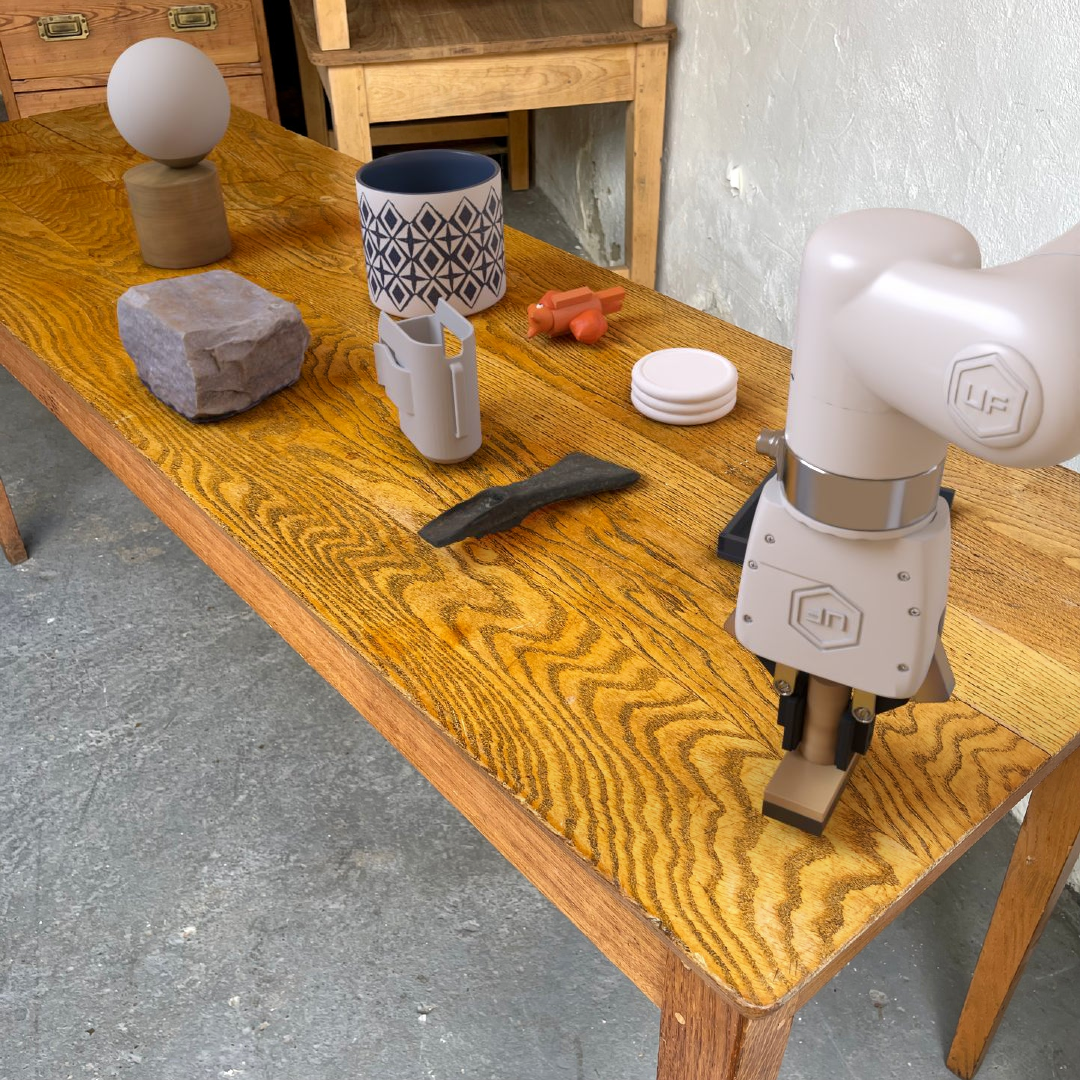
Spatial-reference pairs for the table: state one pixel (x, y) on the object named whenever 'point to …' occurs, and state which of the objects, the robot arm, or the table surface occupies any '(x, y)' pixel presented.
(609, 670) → the table surface
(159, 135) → the lamp
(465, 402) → the cable organizer
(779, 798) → the brush
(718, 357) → the coaster
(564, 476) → the tool
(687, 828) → the table surface
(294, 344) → the stone block
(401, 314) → the planter
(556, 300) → the orange toy bird
